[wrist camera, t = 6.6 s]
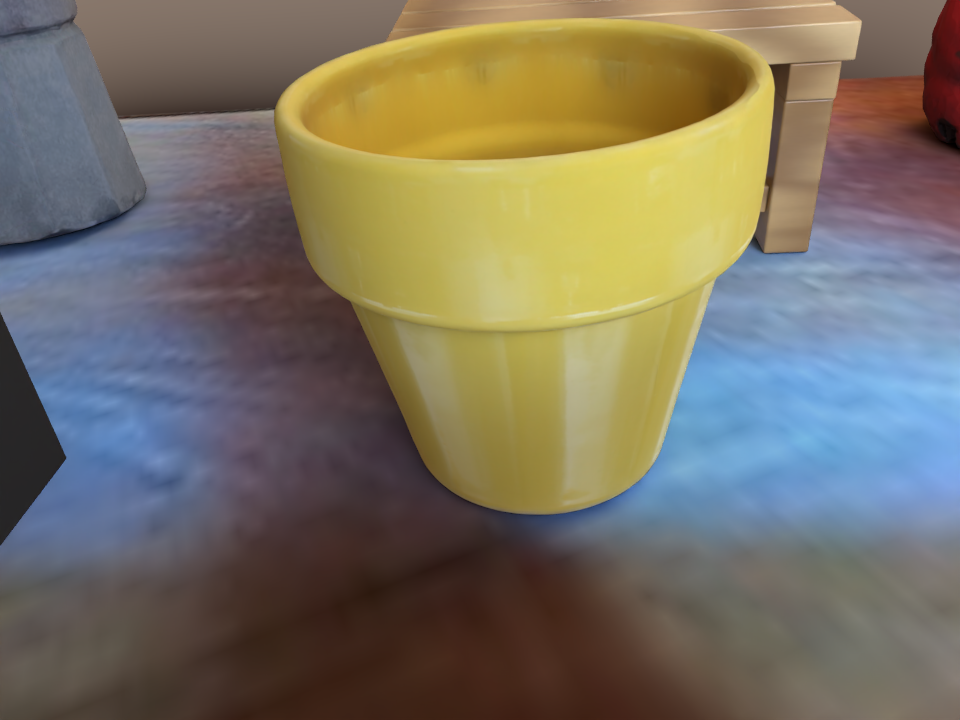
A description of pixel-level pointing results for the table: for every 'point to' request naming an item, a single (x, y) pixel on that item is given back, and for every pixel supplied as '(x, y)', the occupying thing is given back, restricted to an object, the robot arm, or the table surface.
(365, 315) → the flower pot
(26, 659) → the table surface
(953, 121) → the red clay folk toy
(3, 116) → the moka pot
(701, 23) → the plant rack
